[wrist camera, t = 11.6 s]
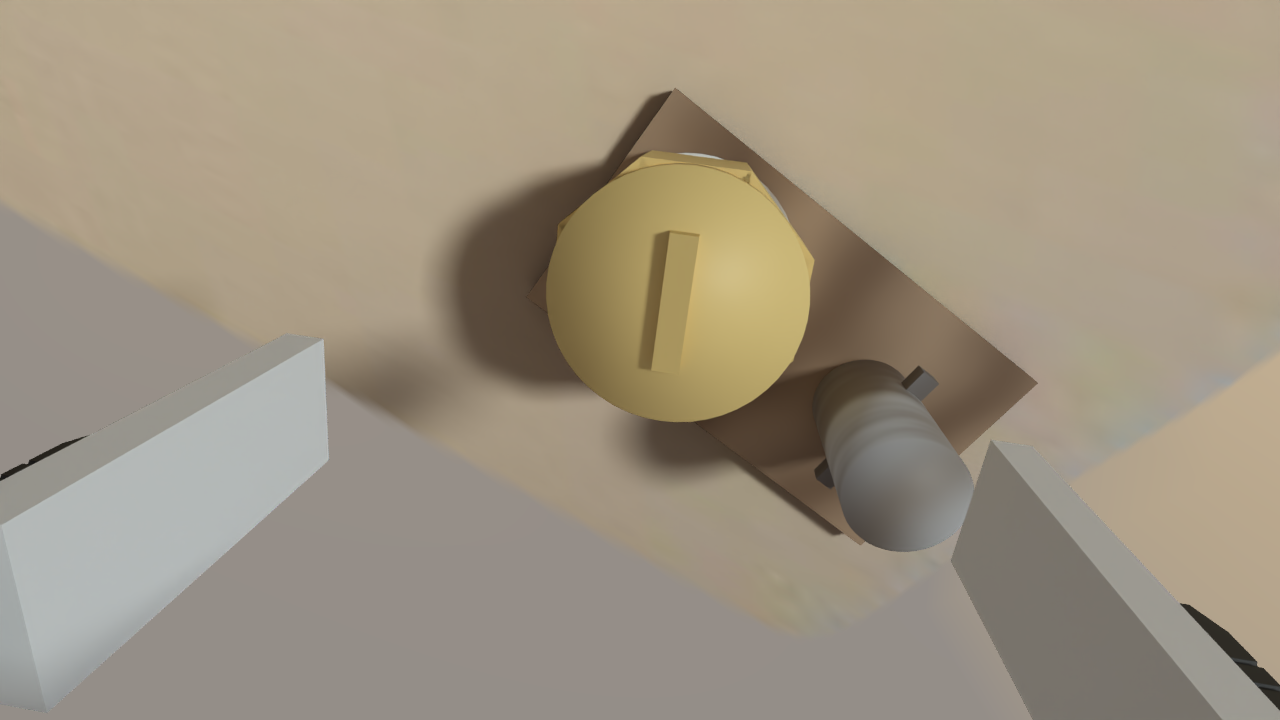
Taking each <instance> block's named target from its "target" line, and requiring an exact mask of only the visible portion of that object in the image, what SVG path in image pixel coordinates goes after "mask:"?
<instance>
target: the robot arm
mask: <svg viewBox="0 0 1280 720" xmlns="http://www.w3.org/2000/svg"><path fill="white" fill-rule="evenodd" d="M328 460H329V450H328V427H327V406H326V383H325V361H324V339H321V338H315V337H308V336H301V335H295V334H288V333H287V334H285V335H283V336H281V337H279V338H277V339H275V340H273V341H271V342H269V343H267V344H265V345H263V346H261V347H259V348H257V349H256V350H254V351H252V352H250V353H248V354H246V355H244V356H242V357H240V358H238V359H236V360H234V361H233V362H230V363H229V364H227V365H225V366H223V367H221V368H219V369H217V370H215V371H213V372H211V373H209V374H207V375H205V376H203V377H201V378H200V379H197V380H196V381H194V382H192V383H190V384H188V385H186V386H184V387H182V388H180V389H178V390H176V391H174V392H172V393H170V394H168V395H166V396H164V397H163V398H161V399H159V400H157V401H155V402H153V403H151V404H149V405H147V406H145V407H143V408H141V409H139V410H137V411H136V412H133V413H132V414H130V415H128V416H126V417H124V418H122V419H120V420H118V421H116V422H114V423H112V424H110V425H109V426H106V427H104V428H102V429H101V430H99V431H97V432H95V433H93V434H91V435H88V436H85V437H81V438H79V439H75V440H72V441H69V442H65V443H62V444H60V445H59V446H56V447H54V448H52V449H50V450H49V451H46V452H44V453H42V454H41V455H39V456H37V457H35V458H33V459H31V460H29V463H28V464H21V465H19V466H17V467H15V468H13V469H11V470H9V471H7V472H5V473H3V474H1V478H0V704H2V705H8V706H13V707H19V708H24V709H29V710H34V711H39V712H45V713H47V712H49V711H50V710H51V709H52V708H53V707H54V706H55V705H56V704H57V703H58V702H60V701H61V700H62V699H63V698H64V697H65V696H66V695H67V694H68V693H70V692H71V691H72V690H73V689H74V688H75V687H76V686H78V685H79V684H80V683H81V682H82V681H83V680H84V679H85V678H86V677H88V676H89V675H90V674H91V673H92V672H93V671H94V670H95V669H97V668H98V667H99V666H100V665H101V664H102V663H103V662H104V661H105V660H106V659H108V658H109V657H110V656H111V655H112V654H113V653H114V652H115V651H117V650H118V649H119V648H120V647H121V646H122V645H123V644H124V643H126V642H127V641H128V640H129V639H130V638H131V637H132V636H133V635H134V634H135V633H137V632H138V631H139V630H140V629H141V628H142V627H143V626H144V625H146V624H147V623H148V622H149V621H150V620H151V619H152V618H153V617H155V616H156V615H157V614H158V613H159V612H160V611H161V610H162V609H163V608H165V607H166V606H167V605H168V604H169V603H170V602H171V601H172V600H173V599H175V598H176V597H177V596H178V595H179V594H180V593H181V592H182V591H183V590H185V589H186V588H187V587H188V586H189V585H190V584H191V583H192V582H194V581H195V580H196V579H197V578H198V577H199V576H200V575H201V574H202V573H204V572H205V571H206V570H207V569H208V568H209V567H210V566H211V565H212V564H214V563H215V562H216V561H217V560H218V559H219V558H220V557H221V556H223V555H224V554H225V553H226V552H227V551H228V550H229V549H230V548H231V547H233V546H234V545H235V544H236V543H237V542H238V541H239V540H240V539H241V538H243V537H244V536H245V535H246V534H247V533H248V532H249V531H250V530H251V529H253V528H254V527H255V526H256V525H257V524H258V523H259V522H260V521H261V520H263V519H264V518H265V517H266V516H267V515H268V514H269V513H270V512H272V511H273V510H274V509H275V508H276V507H277V506H278V505H279V504H280V503H282V502H283V501H284V500H285V499H286V498H287V497H288V496H289V495H291V494H292V493H293V492H294V491H295V490H296V489H297V488H298V487H299V486H300V485H302V484H303V483H304V482H305V481H306V480H307V479H308V478H309V477H310V476H312V475H313V474H314V473H315V472H316V471H317V470H318V469H319V468H321V467H322V466H323V465H324V464H325V463H326V462H327V461H328ZM951 562H952V564H953V566H954V568H955V570H956V572H957V574H958V575H959V577H960V579H961V581H962V583H963V585H964V587H965V589H966V591H967V593H968V595H969V597H970V599H971V601H972V603H973V605H974V607H975V609H976V610H977V612H978V614H979V616H980V618H981V620H982V622H983V624H984V626H985V628H986V630H987V631H988V634H989V636H990V638H991V639H992V641H993V643H994V645H995V647H996V649H997V651H998V653H999V655H1000V657H1001V659H1002V660H1003V663H1004V665H1005V667H1006V669H1007V671H1008V672H1009V674H1010V676H1011V678H1012V680H1013V682H1014V684H1015V686H1016V688H1017V690H1018V692H1019V694H1020V696H1021V698H1022V700H1023V702H1024V704H1025V705H1026V707H1027V709H1028V711H1029V713H1030V715H1031V717H1032V719H1033V720H1280V685H1279V684H1278V683H1277V682H1276V681H1275V680H1274V679H1273V678H1272V677H1271V676H1270V674H1269V673H1268V672H1266V670H1265V669H1264V668H1259V667H1258V666H1257V661H1256V660H1255V659H1254V658H1253V657H1252V656H1251V655H1250V654H1249V653H1248V652H1247V651H1246V650H1245V649H1244V648H1243V647H1242V646H1241V645H1240V644H1239V643H1238V642H1237V641H1236V640H1235V639H1234V638H1233V637H1232V636H1231V635H1230V634H1229V632H1227V631H1226V630H1224V629H1223V628H1221V627H1220V626H1219V625H1217V624H1216V623H1214V622H1213V621H1211V620H1210V619H1209V618H1207V617H1206V616H1204V615H1203V614H1201V613H1200V612H1198V611H1197V610H1196V609H1194V608H1193V607H1191V606H1190V605H1187V604H1181V603H1179V602H1178V601H1177V600H1176V599H1175V598H1174V597H1173V596H1172V595H1171V594H1170V593H1169V592H1168V591H1167V590H1166V589H1165V587H1164V586H1163V585H1162V584H1161V583H1160V582H1159V581H1158V580H1157V579H1156V578H1155V577H1154V576H1153V575H1152V574H1151V572H1150V571H1149V570H1148V569H1147V568H1146V567H1145V566H1144V565H1143V564H1142V563H1141V562H1140V561H1139V560H1138V559H1137V557H1136V556H1135V555H1134V554H1133V553H1132V552H1131V551H1130V550H1129V549H1128V548H1127V547H1126V546H1125V545H1124V544H1123V542H1122V541H1121V540H1120V539H1119V538H1118V537H1117V536H1116V535H1115V534H1114V533H1113V532H1112V531H1111V530H1110V529H1109V528H1108V527H1107V525H1106V524H1105V523H1104V522H1103V521H1102V520H1101V519H1100V518H1099V517H1098V516H1097V515H1096V514H1095V513H1094V511H1093V510H1092V509H1091V508H1090V507H1089V506H1088V505H1087V504H1086V503H1085V502H1084V501H1083V500H1082V499H1081V498H1080V497H1079V496H1078V494H1077V493H1076V492H1075V491H1074V490H1073V489H1072V488H1071V487H1070V486H1069V485H1068V484H1067V483H1066V482H1065V480H1064V479H1063V478H1062V477H1061V476H1060V475H1059V474H1058V473H1057V472H1056V471H1055V470H1054V469H1053V468H1052V467H1051V465H1050V464H1049V463H1048V462H1047V461H1046V460H1045V459H1044V458H1043V457H1042V456H1041V455H1040V454H1039V453H1038V452H1037V450H1036V449H1035V448H1034V447H1033V446H1029V445H1022V444H1016V443H1009V442H1002V441H996V440H991V441H990V444H989V447H988V450H987V453H986V456H985V459H984V462H983V465H982V468H981V471H980V474H979V477H978V480H977V483H976V486H975V489H974V492H973V495H972V498H971V501H970V504H969V507H968V510H967V513H966V516H965V519H964V522H963V525H962V529H961V532H960V535H959V538H958V541H957V544H956V547H955V550H954V553H953V556H952V559H951Z"/></svg>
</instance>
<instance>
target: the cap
mask: <svg viewBox="0 0 1280 720" xmlns="http://www.w3.org/2000/svg"><path fill="white" fill-rule="evenodd" d="M814 261H815V260H814V258H813V257H812V255H811V254H810V252H809V250H808V249H807V247H806V246H805V244H804V243H803V241H802V239H801V238H800V237H799V235H798V234H797V232H796V231H795V230H794V228H793V227H792V225H791V224H790V223H789V221H788V220H787V218H786V217H785V216H784V214H783V213H782V211H781V210H780V209H779V207H778V206H777V204H776V203H775V201H774V200H773V199H772V197H771V196H770V194H769V193H768V192H767V190H766V189H765V187H764V186H763V185H762V183H761V182H760V180H759V179H758V178H757V176H756V175H755V173H754V172H753V170H752V169H751V168H750V166H749V165H748V163H745V162H738V161H730V160H723V159H715V158H708V157H700V156H692V155H685V154H677V153H670V152H662V151H654V150H652V151H650V152H648V153H646V154H644V155H643V156H641V157H640V158H638V159H637V160H636V161H635V162H634V163H632V164H631V165H630V166H629V167H627V168H626V169H625V170H624V171H623V172H621V173H620V174H619V175H618V176H616V177H615V178H614V179H613V180H611V181H610V182H609V183H608V184H607V185H605V186H604V187H603V188H602V189H600V190H599V191H597V192H596V193H594V194H593V195H592V196H591V197H590V198H589V199H588V200H587V201H585V202H584V203H583V204H582V205H581V206H580V207H578V208H577V209H576V210H575V211H573V212H572V213H571V214H570V215H569V216H567V217H566V218H565V219H564V220H562V221H561V222H560V223H559V224H558V229H557V242H556V245H555V248H554V250H553V253H552V257H551V260H550V264H549V268H548V275H547V282H546V302H547V310H548V317H549V321H550V325H551V329H552V332H553V335H554V337H555V340H556V342H557V345H558V347H559V349H560V351H561V352H562V354H563V356H564V358H565V360H566V361H567V363H568V364H569V365H570V367H571V368H572V369H573V371H574V372H575V374H576V375H577V376H578V377H579V378H580V379H581V380H582V381H583V382H584V383H585V384H586V385H587V386H588V387H589V388H590V389H591V390H593V391H594V392H595V393H596V394H597V395H599V396H600V397H602V398H603V399H605V400H606V401H608V402H609V403H611V404H612V405H614V406H616V407H618V408H621V409H623V410H625V411H627V412H629V413H632V414H635V415H638V416H641V417H644V418H649V419H653V420H658V421H668V422H693V421H699V420H706V419H710V418H714V417H718V416H721V415H724V414H727V413H729V412H732V411H734V410H737V409H739V408H740V407H742V406H744V405H746V404H748V403H749V402H751V401H753V400H754V399H755V398H757V397H758V396H759V395H761V394H762V393H764V392H765V391H766V390H767V389H768V388H769V387H770V386H771V385H772V384H773V383H774V382H775V381H776V380H777V379H778V378H779V377H780V376H781V374H782V373H783V372H784V371H785V369H786V368H787V367H788V365H789V364H790V363H791V362H793V360H794V356H795V354H796V352H797V350H798V347H799V345H800V343H801V341H802V338H803V335H804V332H805V328H806V325H807V321H808V315H809V308H810V280H811V275H812V270H813V265H814Z"/></svg>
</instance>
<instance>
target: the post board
mask: <svg viewBox="0 0 1280 720" xmlns="http://www.w3.org/2000/svg"><path fill="white" fill-rule="evenodd" d="M652 150H654V151H662V152H670V153H677V154H685V155H692V156H700V157H708V158H715V159H723V160H730V161H738V162H745V163H748V165H749V166H750V168H751V169H752V170H753V172H754V173H755V175H756V176H757V178H758V179H759V180H760V182H761V183H762V185H763V186H764V187H765V189H766V190H767V192H768V193H769V194H770V196H771V197H772V199H773V200H774V201H775V203H776V204H777V206H778V207H779V209H780V210H781V211H782V213H783V214H784V216H785V217H786V218H787V220H788V221H789V223H790V224H791V225H792V227H793V228H794V230H795V231H796V232H797V234H798V235H799V237H800V238H801V239H802V241H803V243H804V244H805V246H806V247H807V249H808V250H809V252H810V254H811V255H812V257H813V258H814V260H815V261H814V265H813V270H812V275H811V280H810V308H809V315H808V321H807V325H806V328H805V332H804V335H803V338H802V341H801V343H800V345H799V347H798V350H797V352H796V354H795V356H794V360H793V362H791V363H790V364H789V365H788V367H787V368H786V369H785V371H784V372H783V373H782V374H781V376H780V377H779V378H778V379H777V380H776V381H775V382H774V383H773V384H772V385H771V386H770V387H769V388H768V389H767V390H766V391H765V392H764V393H762V394H761V395H759V396H758V397H757V398H755V399H754V400H753V401H751V402H749V403H748V404H746V405H744V406H742V407H740V408H739V409H737V410H734V411H732V412H729V413H727V414H724V415H721V416H718V417H714V418H710V419H706V420H699V421H693V422H695V423H696V424H697V425H699V426H700V427H701V428H703V429H704V430H706V431H707V432H708V433H710V434H711V435H712V436H714V437H715V438H716V439H718V440H719V441H720V442H722V443H723V444H724V445H726V446H727V447H728V448H730V449H731V450H732V451H734V452H735V453H736V454H738V455H739V456H741V457H742V458H743V459H745V460H746V461H747V462H749V463H750V464H751V465H753V466H754V467H755V468H757V469H758V470H759V471H761V472H762V473H763V474H765V475H766V476H767V477H769V478H770V479H771V480H773V481H774V482H775V483H777V484H778V485H780V486H781V487H782V488H784V489H785V490H786V491H788V492H789V493H790V494H792V495H793V496H794V497H796V498H797V499H798V500H800V501H801V502H802V503H804V504H805V505H806V506H808V507H809V508H810V509H812V510H813V511H815V512H816V513H817V514H819V515H820V516H821V517H823V518H824V519H825V520H827V521H828V522H829V523H831V524H832V525H833V526H835V527H836V528H837V529H839V530H840V531H841V532H843V533H844V534H845V535H847V536H848V537H850V538H851V539H852V540H854V541H855V542H856V543H858V544H859V545H862V544H863V543H864V542H865V541H866V542H868V543H869V544H872V545H874V546H876V547H879V548H882V549H885V550H890V551H898V552H909V551H917V550H922V549H926V548H929V547H932V546H934V545H937V544H939V543H941V542H942V541H944V540H946V539H947V538H949V537H950V536H951V535H953V534H954V533H955V532H956V531H957V530H958V529H959V528H960V527H961V526H962V524H963V522H964V519H965V516H966V513H967V510H968V507H969V504H970V501H971V498H972V495H973V492H974V485H973V480H972V477H971V474H970V472H969V470H968V468H967V467H966V465H965V464H964V462H963V461H962V459H961V458H960V456H959V455H960V454H961V453H962V452H963V451H964V450H965V449H966V448H968V447H969V446H970V445H971V444H972V443H973V442H974V441H975V440H976V439H977V438H978V437H980V436H981V435H982V434H983V433H984V432H985V431H986V430H987V429H988V428H989V427H990V426H992V425H993V424H994V423H995V422H996V421H997V420H998V419H999V418H1000V417H1001V416H1003V415H1004V414H1005V413H1006V412H1007V411H1008V410H1009V409H1010V408H1011V407H1012V406H1013V405H1015V404H1016V403H1017V402H1018V401H1019V400H1020V399H1021V398H1022V397H1023V396H1024V395H1025V394H1027V393H1028V392H1029V391H1030V390H1031V389H1032V388H1033V387H1034V386H1035V385H1036V384H1037V382H1036V381H1035V380H1034V379H1033V378H1031V377H1030V376H1029V375H1028V374H1027V373H1025V372H1024V371H1023V370H1022V369H1021V368H1019V367H1018V366H1017V365H1016V364H1014V363H1013V362H1012V361H1011V360H1009V359H1008V358H1007V357H1006V356H1005V355H1003V354H1002V353H1001V352H1000V351H998V350H997V349H996V348H995V347H993V346H992V345H991V344H990V343H989V342H987V341H986V340H985V339H984V338H982V337H981V336H980V335H979V334H977V333H976V332H975V331H974V330H973V329H971V328H970V327H969V326H968V325H966V324H965V323H964V322H963V321H961V320H960V319H959V318H958V317H957V316H955V315H954V314H953V313H952V312H950V311H949V310H948V309H947V308H945V307H944V306H943V305H942V304H941V303H939V302H938V301H937V300H936V299H934V298H933V297H932V296H931V295H930V294H928V293H927V292H926V291H925V290H923V289H922V288H921V287H920V286H918V285H917V284H916V283H915V282H914V281H912V280H911V279H910V278H909V277H907V276H906V275H905V274H904V273H902V272H901V271H900V270H899V269H898V268H896V267H895V266H894V265H893V264H891V263H890V262H889V261H888V260H886V259H885V258H884V257H883V256H882V255H880V254H879V253H878V252H877V251H875V250H874V249H873V248H872V247H870V246H869V245H868V244H867V243H866V242H864V241H863V240H862V239H861V238H859V237H858V236H857V235H856V234H855V233H853V232H852V231H851V230H850V229H848V228H847V227H846V226H845V225H843V224H842V223H841V222H840V221H839V220H837V219H836V218H835V217H834V216H832V215H831V214H830V213H829V212H827V211H826V210H825V209H824V208H823V207H821V206H820V205H819V204H818V203H816V202H815V201H814V200H813V199H811V198H810V197H809V196H808V195H807V194H805V193H804V192H803V191H802V190H800V189H799V188H798V187H797V186H795V185H794V184H793V183H792V182H791V181H789V180H788V179H787V178H786V177H784V176H783V175H782V174H781V173H779V172H778V171H777V170H776V169H775V168H773V167H772V166H771V165H770V164H768V163H767V162H766V161H765V160H764V159H762V158H761V157H760V156H759V155H757V154H756V153H755V152H754V151H752V150H751V149H750V148H749V147H748V146H746V145H745V144H744V143H743V142H741V141H740V140H739V139H738V138H736V137H735V136H734V135H733V134H732V133H730V132H729V131H728V130H727V129H725V128H724V127H723V126H722V125H720V124H719V123H718V122H717V121H716V120H714V119H713V118H712V117H711V116H709V115H708V114H707V113H706V112H704V111H703V110H702V109H701V108H700V107H698V106H697V105H696V104H695V103H693V102H692V101H691V100H690V99H689V98H687V97H686V96H685V95H684V94H682V93H681V92H680V91H679V90H677V89H676V88H675V89H674V90H673V92H672V93H671V94H670V96H669V97H668V99H667V100H666V101H665V103H664V104H663V106H662V107H661V108H660V110H659V111H658V113H657V114H656V115H655V117H654V118H653V120H652V121H651V122H650V124H649V125H648V127H647V128H646V129H645V131H644V132H643V134H642V135H641V136H640V138H639V139H638V141H637V142H636V144H635V145H634V146H633V148H632V149H631V151H630V152H629V153H628V155H627V156H626V158H625V159H624V160H623V162H622V163H621V165H620V166H619V167H618V169H617V170H616V172H615V173H614V174H613V176H612V177H611V179H610V180H609V181H608V183H609V182H610V181H611V180H613V179H614V178H615V177H616V176H618V175H619V174H620V173H621V172H623V171H624V170H625V169H626V168H627V167H629V166H630V165H631V164H632V163H634V162H635V161H636V160H637V159H638V158H640V157H641V156H643V155H644V154H646V153H648V152H650V151H652ZM608 183H607V184H608ZM607 184H606V185H607ZM548 268H549V266H548V267H547V269H546V270H545V271H544V273H543V274H542V276H541V277H540V278H539V280H538V281H537V283H536V284H535V285H534V287H533V288H532V290H531V291H530V292H529V294H528V295H527V297H526V298H528V299H529V300H531V301H532V302H533V303H535V304H536V305H537V306H539V307H540V308H541V309H543V310H544V311H545V312H547V313H548V310H547V302H546V282H547V275H548Z"/></svg>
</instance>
